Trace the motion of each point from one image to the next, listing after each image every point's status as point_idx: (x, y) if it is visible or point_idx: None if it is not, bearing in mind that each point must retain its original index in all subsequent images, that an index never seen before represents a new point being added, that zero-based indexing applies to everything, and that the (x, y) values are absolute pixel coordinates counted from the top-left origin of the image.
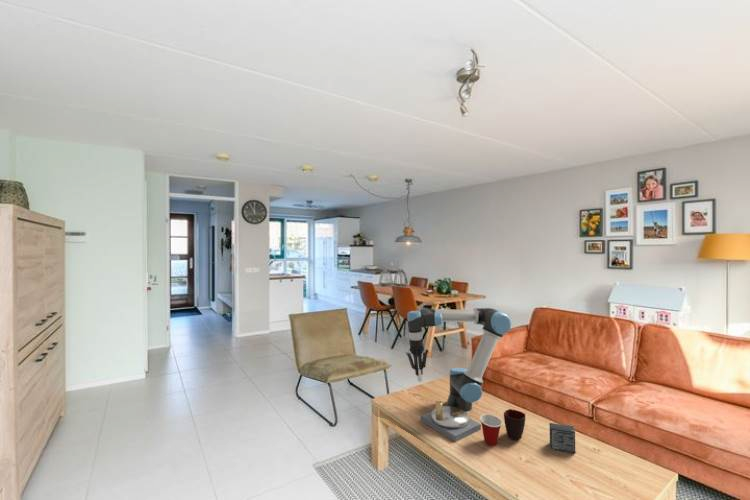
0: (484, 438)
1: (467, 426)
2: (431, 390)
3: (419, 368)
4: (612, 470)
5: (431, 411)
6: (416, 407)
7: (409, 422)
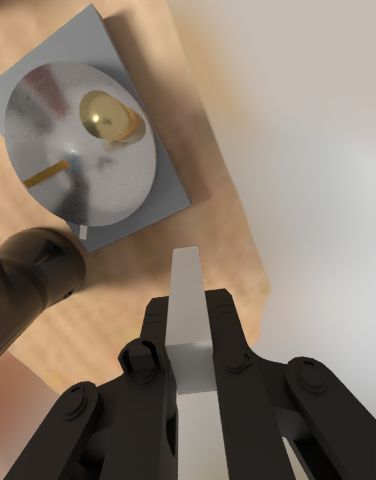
0: None
1: None
2: (113, 353)
3: (175, 384)
4: None
5: (144, 225)
6: None
7: (231, 198)
